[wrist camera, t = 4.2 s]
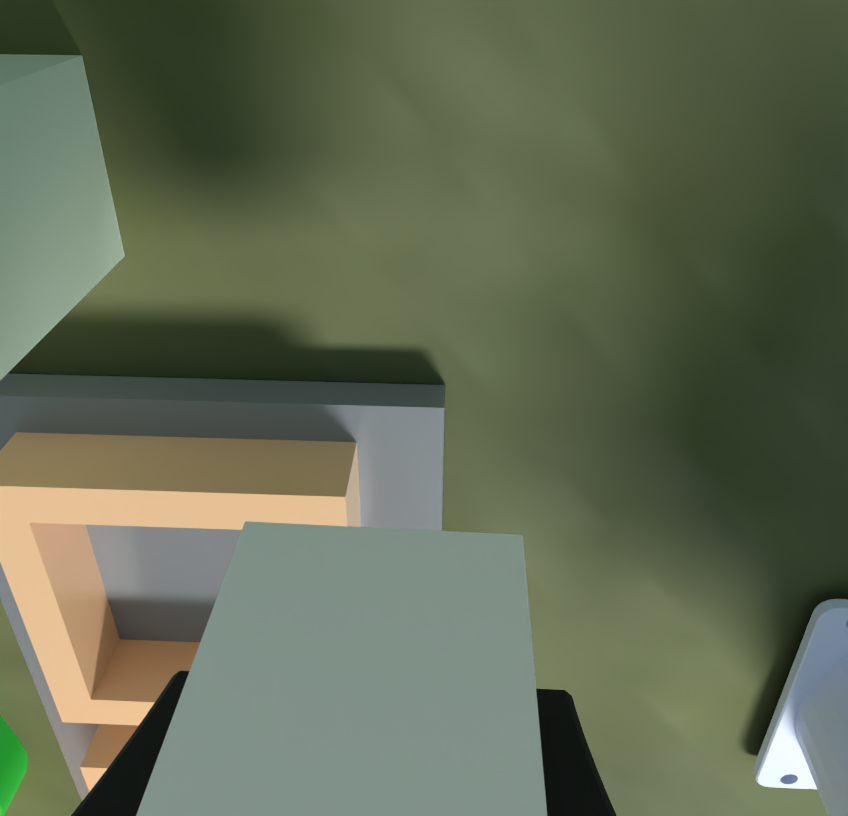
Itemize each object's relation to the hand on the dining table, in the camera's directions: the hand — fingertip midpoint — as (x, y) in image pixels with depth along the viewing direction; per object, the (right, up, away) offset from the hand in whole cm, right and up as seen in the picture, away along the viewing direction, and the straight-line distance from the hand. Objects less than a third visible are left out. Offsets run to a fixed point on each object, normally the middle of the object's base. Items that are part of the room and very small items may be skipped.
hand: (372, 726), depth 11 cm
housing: (-5, -3, +13) cm, 14 cm away
